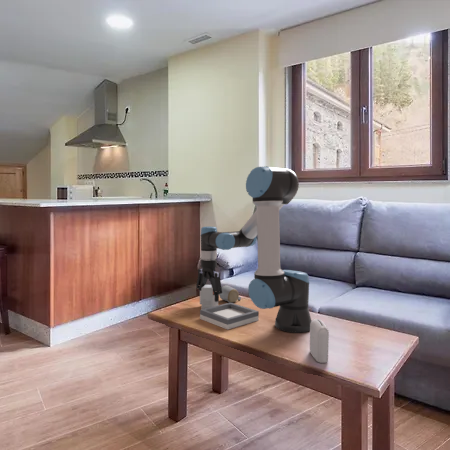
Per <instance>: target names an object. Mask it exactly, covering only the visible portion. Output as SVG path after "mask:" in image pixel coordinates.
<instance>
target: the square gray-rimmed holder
mask: <svg viewBox="0 0 450 450" xmlns="http://www.w3.org/2000/svg"><path fill="white" fill-rule="evenodd" d="M259 312H260V311H259V310H256V309H253V308H249V307H247V306H243V305H241V304H237V303H235V302H234V303H230V302H228V303H223V304H218V306H214V307H210V308H206V309H202V308H201V309H200V310H199V319H200V320H202V321H205V322H207V323H210V324H213V325H214V326H217V327H220V328H222V329H225V330H232V329H234V328H238V327H242V326H244V325H248V324H251V323H254V322H258V321H259V318H260V317H259V314H260V313H259Z"/></svg>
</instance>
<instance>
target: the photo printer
mask: <svg viewBox="0 0 450 450" xmlns="http://www.w3.org/2000/svg"><path fill="white" fill-rule="evenodd" d="M311 320H312V321H311V323H310V331H309V352H310V354H311V355H312V357H313V359H314V360H315V361H316V362H318V363H319V364H320V363H321V364H326V363H327V362H328V361H329V343H330V342H329V340H330V339H329V337H330V334H329V329H328V327H327V325H326V323H325V322H324V321H323V320H321V319H319V318H314V319H311Z"/></svg>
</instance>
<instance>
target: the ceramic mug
mask: <svg viewBox="0 0 450 450" xmlns="http://www.w3.org/2000/svg"><path fill="white" fill-rule="evenodd" d="M221 288H222V294H219V299H221V300H223V301H224V302H228V303H234V304H235V303H236V302H237V301H241V300H242V297H241V296H240V295H239V294H240V293H239V291H238V289H236V288H234V287H232V286H230V285H227V284H226V285H223V286H221Z"/></svg>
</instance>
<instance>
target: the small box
mask: <svg viewBox="0 0 450 450" xmlns="http://www.w3.org/2000/svg"><path fill="white" fill-rule="evenodd" d="M213 294H214V292H213V288H212V285H211V284H206V285H204V286H203V287H202V288H201V304H200V305H201V309H206V308H210V307H213Z"/></svg>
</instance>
